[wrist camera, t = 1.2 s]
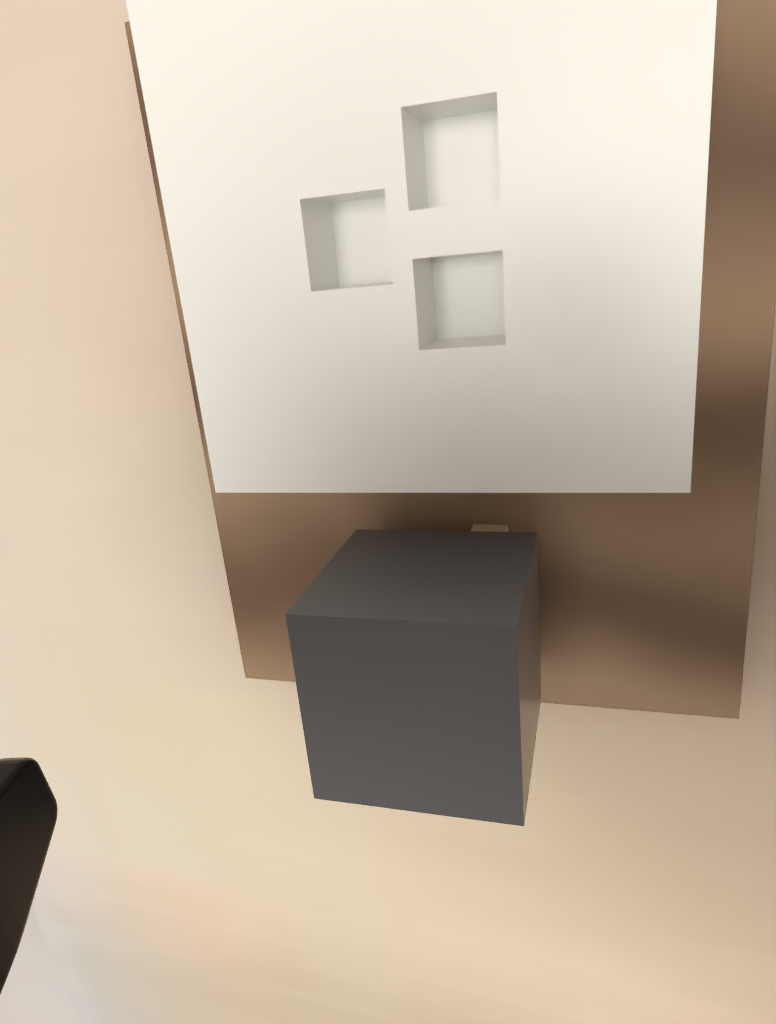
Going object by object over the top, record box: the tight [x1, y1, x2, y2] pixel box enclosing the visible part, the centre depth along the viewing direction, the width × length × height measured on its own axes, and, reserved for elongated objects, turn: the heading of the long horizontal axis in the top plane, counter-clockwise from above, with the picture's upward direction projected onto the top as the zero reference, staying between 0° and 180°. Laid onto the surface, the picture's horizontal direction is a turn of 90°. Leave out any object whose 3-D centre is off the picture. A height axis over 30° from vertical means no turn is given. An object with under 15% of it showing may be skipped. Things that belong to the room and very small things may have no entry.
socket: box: [126, 0, 717, 493], centre depth 17 cm, size 12×12×3 cm
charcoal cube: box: [285, 524, 541, 826], centre depth 19 cm, size 5×5×7 cm
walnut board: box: [125, 0, 776, 719], centre depth 20 cm, size 20×16×1 cm
